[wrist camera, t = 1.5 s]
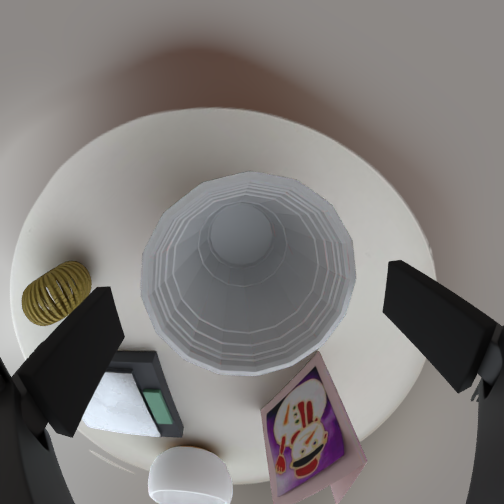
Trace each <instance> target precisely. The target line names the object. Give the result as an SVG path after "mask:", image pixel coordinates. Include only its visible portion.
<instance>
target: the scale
mask: <svg viewBox="0 0 504 504" xmlns="http://www.w3.org/2000/svg"><path fill="white" fill-rule="evenodd" d="M82 420H83V421H84V422H85V424H86V425H87V427H91V428H96V429H101V430H107V431H113V432H119V433H126V434H134V435H143V436H153V437H181V438H182V435H183V428H184V427H183V424H182V422H181V420H180V417H179V415H178V412H177V410H176V407H175V405H174V402H173V399H172V397H171V394H170V391H169V389H168V386H167V383H166V380H165V377H164V374H163V371H162V368H161V365H160V362H159V359H158V356H157V353H156V352H134V351H117V352H116V353H115V355H114V357H113V359H112V361H111V362H110V364H109V366H108V368H107V370H106V372H105V374H104V375H103V377H102V379H101V381H100V383H99V385H98V387H97V389H96V391H95V393H94V395H93V397H92V399H91V401H90V403H89V405H88V407H87V409H86V411H85V413H84V415H83V417H82Z"/></svg>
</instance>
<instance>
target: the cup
mask: <svg viewBox="0 0 504 504" xmlns="http://www.w3.org/2000/svg"><path fill="white" fill-rule="evenodd" d="M148 490H149V495H150V497H151V498H152V499H153V500H154V501H156V502H158V503H160V504H230V502H231V499H232V496H233V487H232V479H231V476H230V474H229V471H228V469H227V466H226V464H225V463H224V462H223V461H222V460H221V459H220V458H219V457H218V456H216V455H215V454H214V453H211V452H209V451H206V450H205V449H202V448H200V447H196V446H181V447H174V448H169V449H168V450H166V451H164V452H163V453H161V454H160V455H158V456H157V458H156V459H155V461H154V462H153V464H152V465H151V469H150V474H149V480H148Z"/></svg>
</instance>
